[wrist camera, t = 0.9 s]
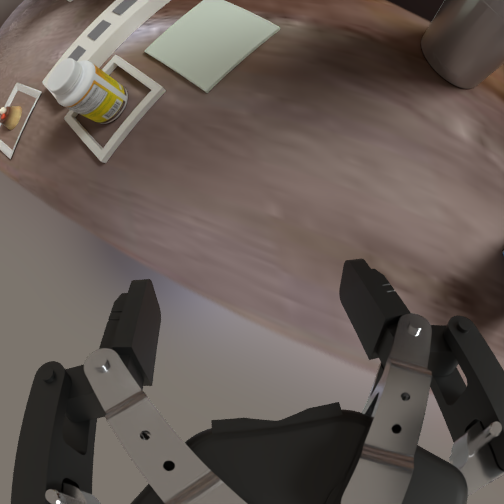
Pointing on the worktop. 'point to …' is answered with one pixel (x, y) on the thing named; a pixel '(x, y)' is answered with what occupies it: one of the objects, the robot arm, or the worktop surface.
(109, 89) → the supplement bottle
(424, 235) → the worktop surface
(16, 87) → the dessert
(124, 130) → the white square frame
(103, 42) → the power strip
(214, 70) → the mat
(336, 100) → the worktop surface
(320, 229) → the worktop surface
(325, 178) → the worktop surface
